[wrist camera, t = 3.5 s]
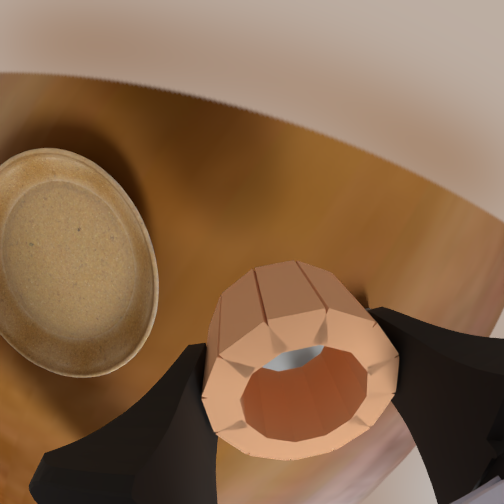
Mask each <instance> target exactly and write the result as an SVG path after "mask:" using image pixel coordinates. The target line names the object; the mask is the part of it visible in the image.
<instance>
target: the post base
mask: <svg viewBox="0 0 504 504" xmlns="http://www.w3.org/2000/svg"><path fill="white" fill-rule="evenodd" d="M365 310H366V311H367V310H371V309H370V308H366V309H365ZM323 348H324V346H323V345H317V346H312V347H308V348H303V349H298V350H293V351H289V352H284V353H281V354H280V355H278V356H277V357H275V358H274V359H273V360H271V361H270V362H268V363H267V364H266V365H264V366H263V368H267V369H271V370H275V371H283V370H288V369H293V368H298V367H302V366H303V365H305V364H306V363H308V362H309V361H310V360H312V359H313V358H315V357H316V356H317V355H319V354H320V353H321V351H322V349H323ZM332 449H333V448H332Z"/></svg>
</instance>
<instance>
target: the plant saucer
mask: <svg viewBox="0 0 504 504" xmlns="http://www.w3.org/2000/svg"><path fill="white" fill-rule="evenodd" d="M158 295H159V279H158V269H157V263H156V258H155V253H154V249H153V245H152V242H151V239H150V236H149V233H148V231H147V228H146V226H145V224H144V221H143V219H142V217H141V215H140V213H139V211H138V210H137V208H136V207H135V205H134V203H133V202H132V200H131V199H130V197H129V196H128V195H127V193H126V192H125V191H124V189H123V188H122V187H121V186H120V184H119V183H118V182H117V181H116V180H115V179H114V178H113V177H112V176H111V175H110V174H108V173H107V172H106V171H105V170H104V169H102V168H101V167H100V166H98V165H97V164H96V163H94V162H93V161H91V160H89V159H88V158H86V157H83V156H81V155H79V154H76V153H74V152H71V151H67V150H63V149H58V148H38V149H32V150H28V151H25V152H22V153H20V154H17V155H15V156H13V157H11V158H9V159H8V160H7V161H5V162H4V163H3V164H1V165H0V334H1V336H2V337H3V338H4V339H5V340H6V341H7V342H8V343H9V344H10V345H11V346H12V347H13V348H14V349H15V350H16V351H17V352H18V353H20V354H21V355H22V356H24V357H25V358H26V359H28V360H29V361H31V362H33V363H34V364H36V365H37V366H39V367H41V368H44V369H46V370H48V371H50V372H53V373H56V374H60V375H64V376H69V377H77V378H86V377H96V376H101V375H104V374H108V373H110V372H113V371H115V370H117V369H118V368H120V367H122V366H123V365H125V364H126V363H127V362H128V361H130V360H131V359H132V358H133V357H134V356H135V355H136V354H137V353H138V351H139V350H140V349H141V348H142V346H143V344H144V343H145V341H146V339H147V338H148V336H149V334H150V332H151V329H152V327H153V324H154V320H155V316H156V312H157V306H158Z"/></svg>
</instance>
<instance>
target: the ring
mask: <svg viewBox="0 0 504 504" xmlns="http://www.w3.org/2000/svg"><path fill="white" fill-rule="evenodd" d="M317 345H323V346H324V348H323V349H322V351H321V353H320V354H319V355H317V356H316V357H315V358H313V359H312V360H310V361H309V362H308V363H306V364H305V365H303V366H302V367H298V368H293V369H288V370H283V371H275V370H271V369H267V368H263V366H264V365H266V364H267V363H268V362H270V361H271V360H273V359H274V358H275V357H277V356H278V355H280V354H281V353H284V352H289V351H293V350H298V349H303V348H308V347H312V346H317ZM398 354H399V353H398V352H397V350H396V349H395V348H394V346H393V345H392V343H391V342H390V340H389V339H388V337H387V336H386V335H385V333H384V332H383V330H382V329H381V327H380V326H379V325H378V323H377V322H376V321H375V320H374V319H373V318H372V316H371V315H370V314H369V313H368V312H367V311H366V310H365V309H364V307H363V306H362V305H361V304H360V303H359V302H358V301H357V300H356V298H355V297H354V296H353V295H352V294H351V293H350V292H349V291H348V290H347V288H346V287H345V286H344V285H343V284H342V283H341V282H340V281H339V280H338V279H337V277H336V276H335V275H334V274H332V273H331V272H329V271H326V270H323V269H320V268H317V267H314V266H311V265H308V264H306V263H303V262H300V261H296V262H295V261H294V260H293V261H287V262H282V263H277V264H271V265H266V266H260V267H255V271H254V270H253V269H251V270H250V271H249V272H248V273H246V274H245V275H244V276H243V277H241V278H240V279H239V280H238V281H236V282H235V283H234V284H233V285H232V286H230V287H229V288H228V289H227V290H225V291H224V292H223V293H222V295H220V298H219V301H218V304H217V306H216V309H215V312H214V315H213V318H212V320H211V323H210V326H209V331H208V340H207V350H206V359H205V368H204V377H203V387H202V402H203V404H204V407H205V410H206V413H207V415H208V418H209V421H210V423H211V426H212V429H213V431H214V432H215V434H216V435H218V436H219V437H220V438H222V439H223V440H225V441H226V442H228V443H229V444H231V445H232V446H234V447H235V448H237V449H239V450H240V451H242V452H243V453H245V454H248V453H249V455H250V456H256V457H263V458H270V459H278V460H286V461H289V459H290V458H291V461H292V460H297V459H302V458H306V457H311V456H315V455H320V454H324V453H328V452H332V448H333V449H334V450H336V449H338V448H340V447H341V446H343V445H345V444H346V443H348V442H349V441H351V440H353V439H354V438H356V437H357V436H359V435H360V434H362V433H363V432H365V431H366V430H368V429H369V428H370V427H369V426H373V424H374V423H375V422H376V420H377V419H378V418H379V416H380V415H381V414H382V412H383V411H384V409H385V408H386V407H387V405H388V404H389V402H390V401H391V399H392V398H393V396H394V395H395V394H394V392H396V387H397V377H398V367H399V355H398Z"/></svg>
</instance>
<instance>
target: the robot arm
mask: <svg viewBox="0 0 504 504" xmlns="http://www.w3.org/2000/svg"><path fill="white" fill-rule="evenodd" d="M367 312H368V313H369V314H370V315H371V316H372V318H373V319H374V320H375V321H376V322H377V323H378V325H379V326H380V327H381V329H382V330H383V332H384V333H385V335H386V336H387V337H388V339H389V340H390V342H391V343H392V345H393V346H394V348H395V349H396V350H397V352H398V353H399V354H398V355H399V367H398V377H397V387H396V392H394V394H395V395H394V396H393V398H392V399H391V401H392V403H393V404H394V406H395V407H396V409H397V410H398V412H399V413H400V415H401V416H402V418H403V420H404V421H405V423H406V425H407V426H408V428H409V430H410V432H411V435H412V437H413V439H414V441H415V443H416V445H417V447H418V450H419V452H420V455H421V457H422V459H423V462H424V464H425V467H426V469H427V472H428V475H429V478H430V481H431V483H432V486H433V489H434V493H435V496H436V499H437V503H438V504H504V339H499V338H489V337H481V336H474V335H469V334H464V333H459V332H455V331H451V330H448V329H445V328H441V327H438V326H435V325H432V324H429V323H426V322H423V321H420V320H418V319H415V318H412V317H410V316H407V315H404V314H402V313H399V312H396V311H394V310H391V309H388V308H384V307H379V308H375V309H371V310H367ZM206 350H207V347H206V343H200V344H194V345H188V346H187V347H186V349H185V350H184V351H183V352H182V354H181V355H180V356H179V357H178V359H177V360H176V361H175V362H174V364H173V365H172V366H171V367H170V368H169V370H168V371H167V372H166V373H165V374H164V375H163V377H162V378H161V379H160V380H159V381H158V382H157V383H156V384H155V385H154V386H153V387H152V388H151V389H150V390H149V391H148V392H147V393H146V394H145V395H144V396H143V397H142V398H141V399H140V400H139V401H138V402H137V403H135V404H134V405H133V406H132V407H131V408H129V409H128V410H127V411H126V412H124V413H123V414H122V415H120V416H119V417H117V418H116V419H114V420H113V421H111V422H110V423H108V424H107V425H105V426H104V427H102V428H100V429H99V430H97V431H95V432H93V433H92V434H90V435H88V436H86V437H84V438H82V439H80V440H78V441H75V442H73V443H71V444H68V445H66V446H63V447H60V448H58V449H55V450H52V451H50V452H47V453H45V454H44V456H43V458H42V460H41V462H40V464H39V466H38V468H37V470H36V472H35V474H34V476H33V478H32V480H31V482H30V484H29V491H30V493H31V495H32V497H33V498H34V500H35V501H36V502H37V503H38V504H217V491H216V453H217V441H218V435H216V434H215V432H214V431H213V429H212V426H211V423H210V421H209V418H208V415H207V413H206V410H205V407H204V404H203V402H202V387H203V377H204V368H205V359H206Z"/></svg>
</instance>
